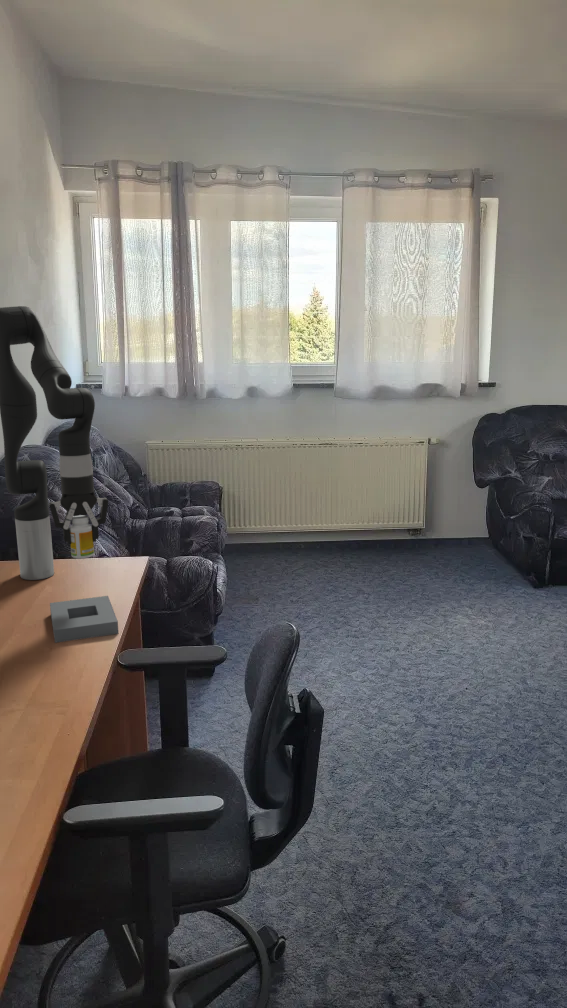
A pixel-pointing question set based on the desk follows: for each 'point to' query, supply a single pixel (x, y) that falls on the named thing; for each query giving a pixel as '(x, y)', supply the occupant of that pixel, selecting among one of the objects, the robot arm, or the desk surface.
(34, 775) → the desk surface
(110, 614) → the socket holder
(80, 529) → the supplement bottle
